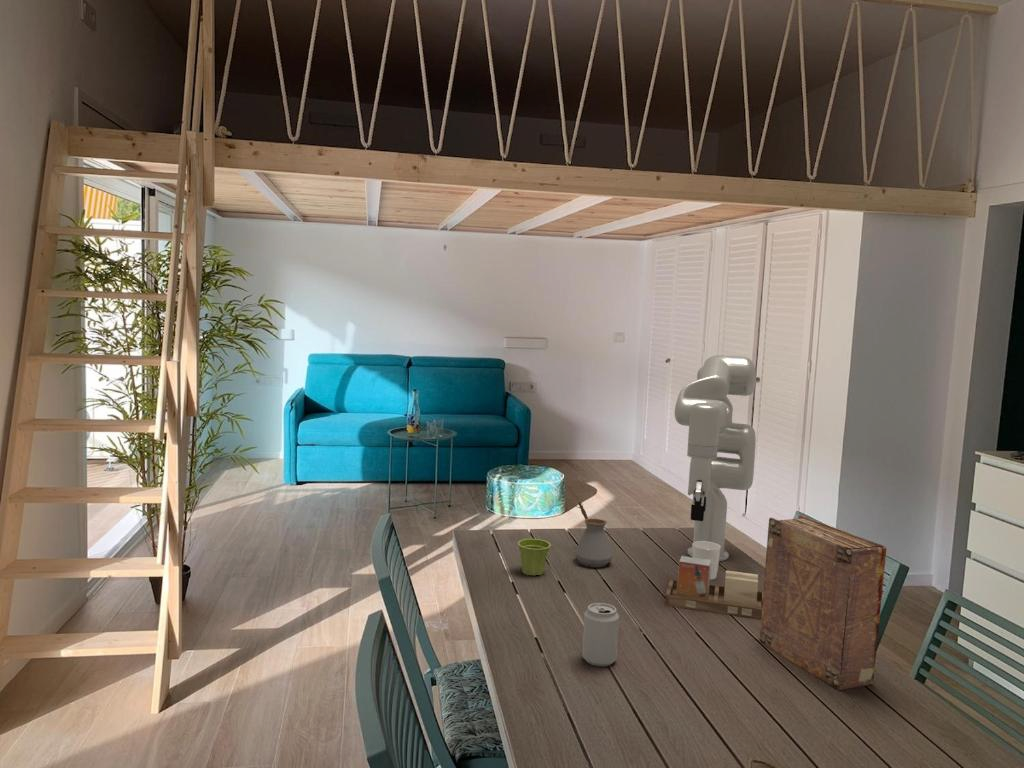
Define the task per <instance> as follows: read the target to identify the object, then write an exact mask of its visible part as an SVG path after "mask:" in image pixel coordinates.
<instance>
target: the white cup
mask: <svg viewBox="0 0 1024 768" xmlns="http://www.w3.org/2000/svg"><path fill="white" fill-rule="evenodd" d="M691 544H692V546H691V547H692V558H699V559H709V560H711V572H710V581H711V580H714V579H717V576H718V575H717V574H718V570H719V563H720V561H719V556H720V548H721V546H720V545H718V544H716V543H713V542H708V541H696V542H692V543H691Z"/></svg>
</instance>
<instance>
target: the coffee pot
mask: <svg viewBox="0 0 1024 768" xmlns="http://www.w3.org/2000/svg"><path fill="white" fill-rule="evenodd" d="M575 507H576V508H579V509H580V513H581V514H582V517H583V518H584V519H585V520H584V523H585V526H586V529H585V530H584V532H583V534H582V536H581V537H580V540H579V542H578V544H577V546H576V548H575V550H574V556H575V558H576V559H577V561H578V562H580V564H581V565H583V566H585V567H588V566H590V567H589V568H602V567H605V566H606V565H608V563H610V562H611V561H612V559H613V556H614V554H613V551H612V548H611V545H610V544H609V540H608V538H607V534H606V531H605V529H604V528H605V525H607V522H608V521H607V520H604V519H598V518H589V517H588V515H587V512H586V510H585V509H584V505H583V503H582V502H577V503H576V504H575Z"/></svg>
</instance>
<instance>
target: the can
mask: <svg viewBox="0 0 1024 768" xmlns="http://www.w3.org/2000/svg"><path fill="white" fill-rule="evenodd" d="M619 626H620V614H618V612H617V608H616V607H615V606H614V605H612V604H609V603H604V602H594V603H590V604H589V605H588V606H587V610H585V611H584V617H583V630H582V631H583V634H582V651H581V652H582V653H581V654H582V658H583V660H585V662H587V663H588V664H590V665H591V666H595V667H608V666H610V665H612V664H613V663H614V662H616V661H617V658H618V657H617V656H618V643H619V642H618V641H619V629H620V628H619Z"/></svg>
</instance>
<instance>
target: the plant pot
mask: <svg viewBox="0 0 1024 768" xmlns="http://www.w3.org/2000/svg"><path fill="white" fill-rule="evenodd" d="M517 545H518V547H519V551H520V562H521V572H522V573H524V574H523V575H525V574H527V575H526V576H528V575H533V576H536V575H540V576H542V575H544V571H545V567H546V561H547V556H548V553H549V550H550V548H551V545H552V544H551V543H550V542H549V541H547V540H543V539H539V538H524V539H521V540H519V541H518V542H517ZM541 574H542V575H541Z"/></svg>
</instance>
